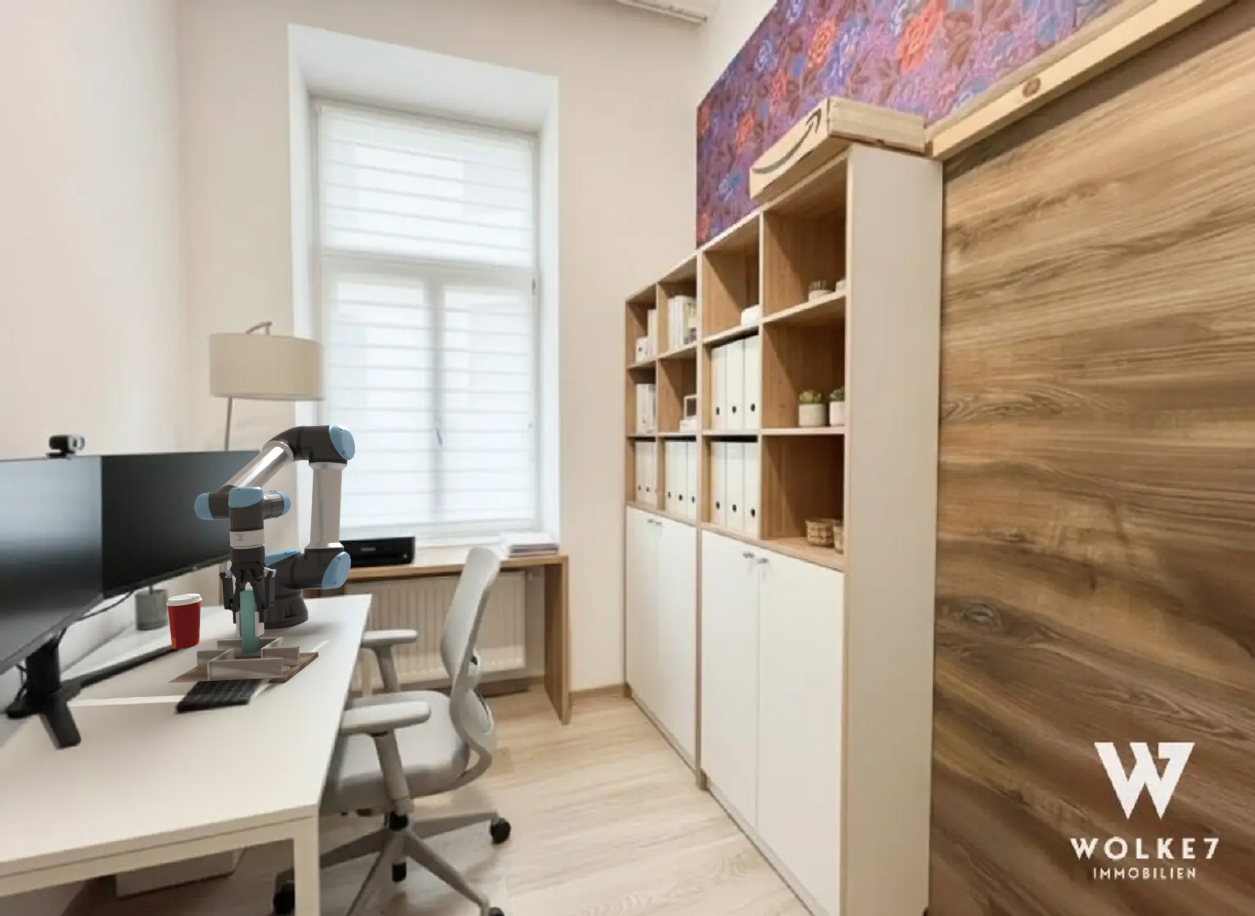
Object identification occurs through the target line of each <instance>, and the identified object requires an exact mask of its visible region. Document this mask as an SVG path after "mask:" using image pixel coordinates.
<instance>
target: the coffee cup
mask: <svg viewBox="0 0 1255 916" xmlns="http://www.w3.org/2000/svg"><path fill="white" fill-rule="evenodd" d="M202 601H203V598H202V597H201V594H199V593H185V594H179V595H175V596H171V597H169V598H168V600H167V602H166V603H165V605H166V606H167V614H168V623H169V632H170V640H171V641H170V642H171V648H172V649H175V650H181V649H183V650H184V649H188V648H191V647H195V646H197V645H199V644H200V636H201V634H200V633H201V609H202V608H201V607H202Z"/></svg>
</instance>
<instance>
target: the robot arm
mask: <svg viewBox="0 0 1255 916" xmlns="http://www.w3.org/2000/svg"><path fill="white" fill-rule="evenodd" d="M355 453H356V444H355V439H354V437H353V435H352V433H351V431H350V430H349V428H347V427H346V426H344V425H335V424H334V425H333V424H330V425H329V424H327V425H300V426H299V425H298V426H295V427H290V428H288V429H286V430H284V431H282V432H280V433H278V434H276V435H275V436H273V437H272V438H270V439H269V440H268V441H267V442H265V444H263V446H262V449H261V451H260V452H259V453H258V454H257V455H256V456H255V457H253V459H251V460H250V461H249V462H248V463H247V464H246V465H245V466H243V468H241V469H240V470H239V471H237V473H235V475H233V476H232V477H231V478H230V479H229V480H227V481H226V483H225V484H223V485H222V486H221V487H219V489H218V490H216V491H214V492H212V491H210V492H204V493H201V494H199V495H198V496H197V497H196V498H195V502H194V506H193V507H194V512H195V515H196V516H197V517H198V518H199V519H200V520H207V521H226V520H228V521H229V545H230V547H231V549H230V551H229V553H230V555H229V556H230V557H229V558H230V562H231V565H230V567H229V569H228V570H224V571H221V572H219V574H218V576H219V578H220V581H221V582H222V583H221V584H222V596H223V597H222V598H223V599H222V600H223V609H224V610H226V611H231V612H232V623H233V624H234V625H235V626H236V627H235V628H236V631H235V632H236V638H241V613H240V591H243V590H245V589H246V586H247V584H248V583H249V584H250V587H251V589H253V593H254V597H255V601H256V605H257V609H258V610H256V611H255V637H259V636H261V635H264V634H265V629H278V628H284V627H289V626H294V625H298V624H300V623H303V622H306V621H307V620H308V619H309V610H308V607H307V605H306V603H305V599H304V598H303V595H302V594H303V592H302V590H329V589H337V588H340V587H342V586H343V585H344V584H345V582H346V580H347V579H348V577H349V574H350V570H351V564H352V563H351V562H352V560H351V555H350V554H349V553H347V551H345V546H344V545H343V544H342V543H341V542H340V532H341V531H340V530H341V529H340V528H341V508H342V507H341V505H342V502H341V501H342V480H343V478H342V477H343V470H344V469H345V468H347V467H348V461H351V460H352V459H353V458H354V457H355ZM298 461H308V464H307V465H308V466H309V467H310V468H311V469H312V470H313V472H312V473H313V474H312V488H311V489H312V491H311V492H312V493H311V515H310V533H309V543H308V544H307V545H306V546H304V550H303V551H304V552H303V553H302V551H301V548H289V549H284V550H278V551H274V552H269V553H266V551H265V550H266V547H265V546H264V545H263V544H265V542H266V541H265V520H269V519H277V518H279V517H280V518H281V517H283V516H284V515H286V514H287V513H289V511H290V509H291V505H292V503H291V498H290V496H289V494H287V493H286V492H284V491H282V490H269V491H263V487H264V485H266V484H267V483H268V482H269V481H270V480H271V479H273V477H274V476H275V475H276V474H277V473H278V472H279V471H280V470H282V468H286V467H288V466H290V465H291V464H292V463H295V462H298ZM233 576H234V577H235V582H234V579H233ZM234 587H235V588H234Z"/></svg>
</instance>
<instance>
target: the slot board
mask: <svg viewBox="0 0 1255 916" xmlns="http://www.w3.org/2000/svg"><path fill="white" fill-rule="evenodd" d="M216 647H217V648H215V649H198V650H197V651H196V662H197V663H196V664H197V665H196V666H195V667H193V668H191V669H190V670H188V671H185V672H184V673H182V674H180V675H179V676H177V677H175V678H173V679H171V680H170V681H168V683H188V682H190V683H191V682H206V681H207V682H212V681H213V682H214V681H216V682H217V681H233V680H234V681H235V680H236V681H237V680H239V681H240V680H257V679H258V680H259V679H260V680H261V679H269V680H268V681H266V684H273V683H274V684H275V683H277V684H278V683H287V682H288V681H289V680H290V679H292V678H293V677H295V676H296V675H297V674H298V673H299V672H301V671H302V670H303V669H305V668H306V667H307V666H308V665H310V664H311V663H312V662H313V661H315V660H316V659H317V658H318V657H319V652H318V651H315V652H313V651H312V652H300V646H299V645H295V646H294V645H293V646H292V645H291V646H284V636H275V637H273V636H272V637H260V650H259V651H258V652H255V653H251V654H242V643H241V638H226V639H218V640H216Z"/></svg>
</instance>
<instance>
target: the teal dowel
mask: <svg viewBox="0 0 1255 916" xmlns="http://www.w3.org/2000/svg"><path fill="white" fill-rule="evenodd" d="M256 610H258V609H257V605H256V601H255V597H254V593H253V589H252V588H245V590H243V591H240V613H241V637H240V639H241V643H242V654H251V653H255V652H258V651H259V650H260V638H261V637H260V636H261V635H260V636H259V637H255V611H256Z"/></svg>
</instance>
